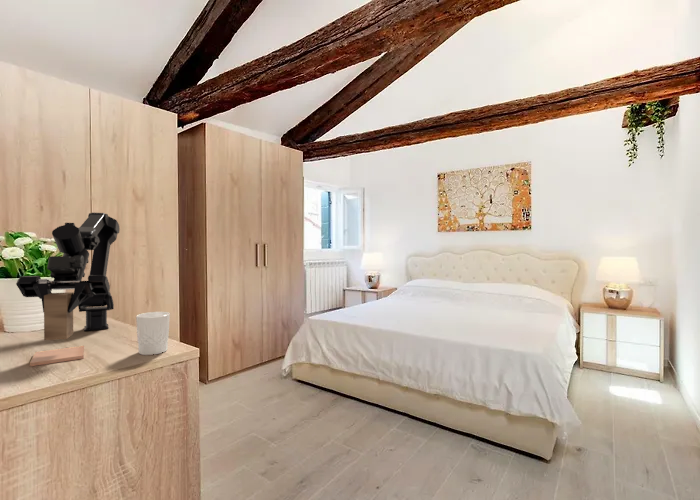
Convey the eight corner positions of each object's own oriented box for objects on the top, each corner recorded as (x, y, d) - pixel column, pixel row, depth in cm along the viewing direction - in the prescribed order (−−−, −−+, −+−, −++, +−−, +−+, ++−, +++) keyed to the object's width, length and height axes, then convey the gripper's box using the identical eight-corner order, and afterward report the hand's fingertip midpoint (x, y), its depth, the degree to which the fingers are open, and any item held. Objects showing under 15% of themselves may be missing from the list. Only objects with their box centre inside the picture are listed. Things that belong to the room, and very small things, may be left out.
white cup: (144, 358, 89) (144, 318, 89) (131, 351, 94) (131, 314, 94) (175, 350, 95) (175, 314, 95) (161, 345, 100) (161, 310, 100)
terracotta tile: (35, 355, 90) (35, 351, 90) (84, 348, 96) (84, 345, 96) (29, 366, 82) (29, 363, 82) (83, 358, 88) (83, 355, 88)
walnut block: (52, 335, 90) (51, 293, 90) (73, 334, 92) (73, 292, 92) (44, 340, 86) (43, 295, 86) (66, 338, 88) (66, 294, 87)
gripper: (19, 244, 89) (-6, 294, 79) (106, 245, 96) (94, 291, 86) (34, 272, 96) (13, 321, 86) (114, 271, 103) (103, 316, 93)
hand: (56, 312), depth 88 cm, fingers closed on walnut block, 4 cm apart
